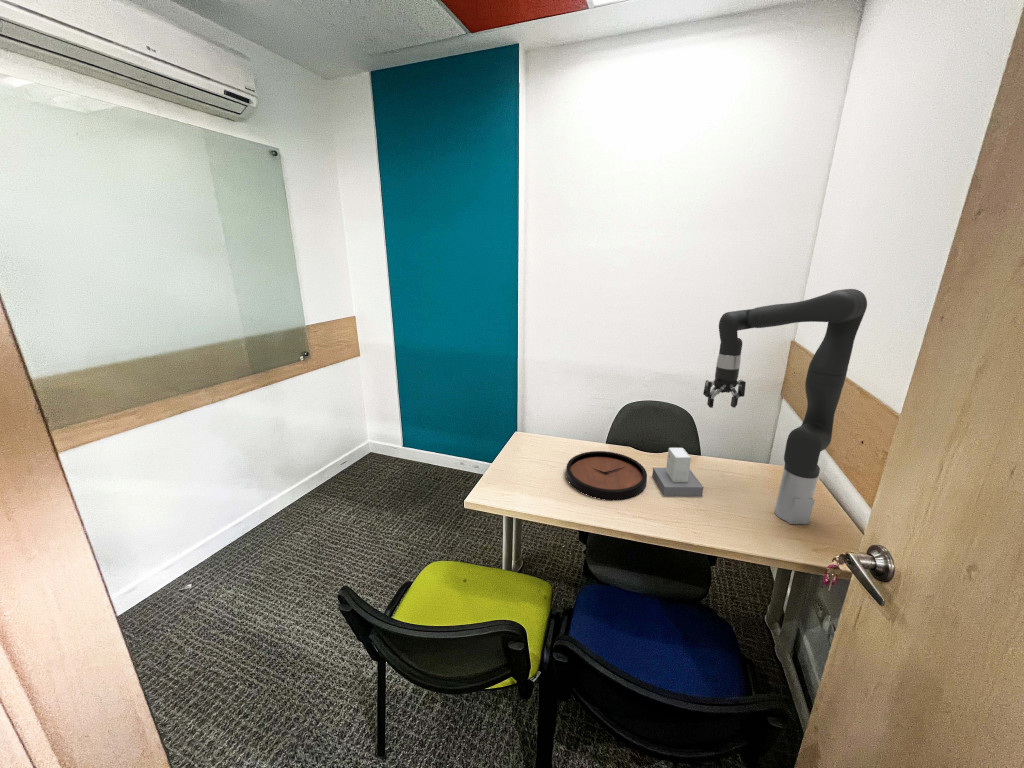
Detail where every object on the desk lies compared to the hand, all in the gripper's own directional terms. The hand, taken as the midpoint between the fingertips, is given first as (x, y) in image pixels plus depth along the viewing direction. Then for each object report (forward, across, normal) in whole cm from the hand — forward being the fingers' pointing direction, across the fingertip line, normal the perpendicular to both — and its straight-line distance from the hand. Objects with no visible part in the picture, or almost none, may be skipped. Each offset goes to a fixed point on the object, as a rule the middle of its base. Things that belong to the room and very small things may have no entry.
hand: (721, 406), depth 151 cm
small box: (+26, -17, -7) cm, 32 cm away
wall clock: (+30, -43, 0) cm, 52 cm away
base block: (+30, -17, -7) cm, 35 cm away
